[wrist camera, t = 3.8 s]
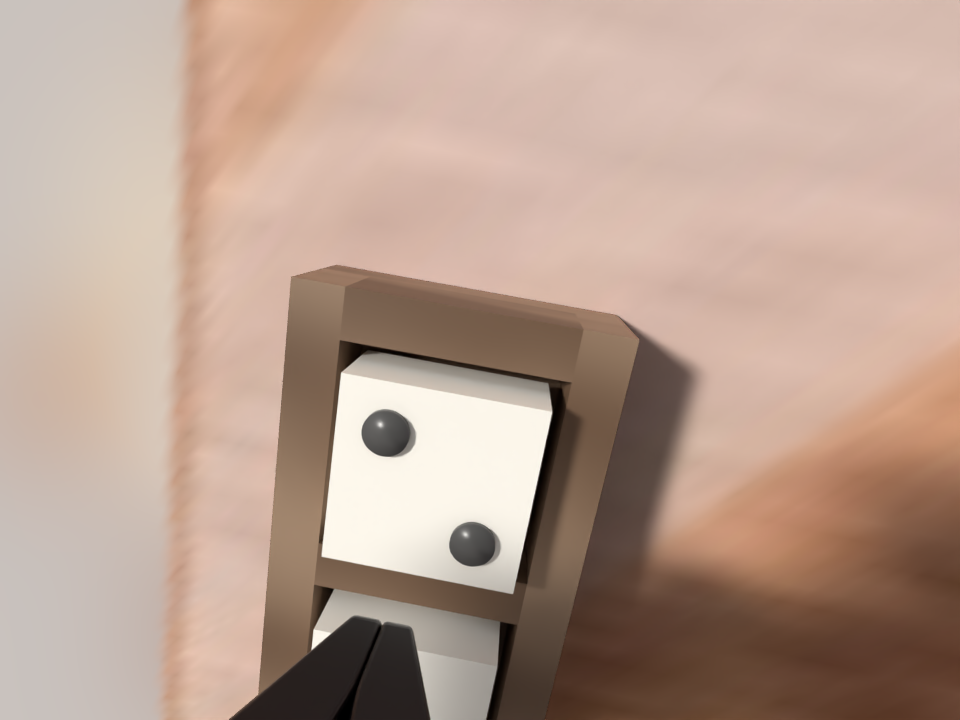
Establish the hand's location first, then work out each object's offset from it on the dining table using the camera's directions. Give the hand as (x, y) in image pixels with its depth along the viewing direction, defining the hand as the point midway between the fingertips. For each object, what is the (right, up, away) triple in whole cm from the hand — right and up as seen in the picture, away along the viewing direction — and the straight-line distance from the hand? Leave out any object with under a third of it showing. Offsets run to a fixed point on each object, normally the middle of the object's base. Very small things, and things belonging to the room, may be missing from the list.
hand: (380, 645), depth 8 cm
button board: (0, -4, +10) cm, 11 cm away
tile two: (0, +2, +6) cm, 6 cm away
